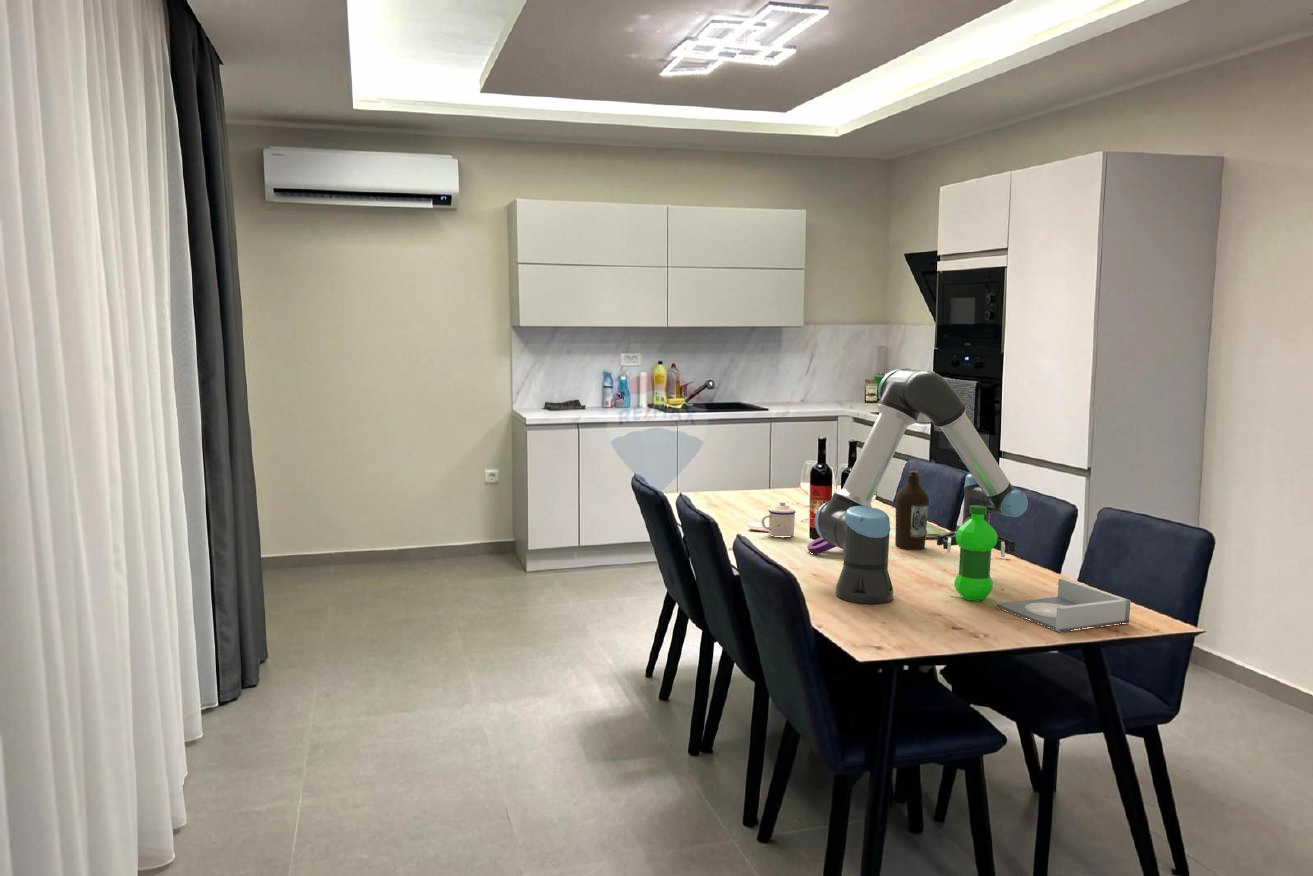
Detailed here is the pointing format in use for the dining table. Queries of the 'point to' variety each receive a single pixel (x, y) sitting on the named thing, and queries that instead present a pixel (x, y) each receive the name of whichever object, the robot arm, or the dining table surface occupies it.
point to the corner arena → (1073, 608)
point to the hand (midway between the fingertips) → (975, 549)
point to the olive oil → (911, 514)
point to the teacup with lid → (780, 520)
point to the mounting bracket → (819, 546)
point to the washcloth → (934, 531)
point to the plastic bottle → (975, 555)
